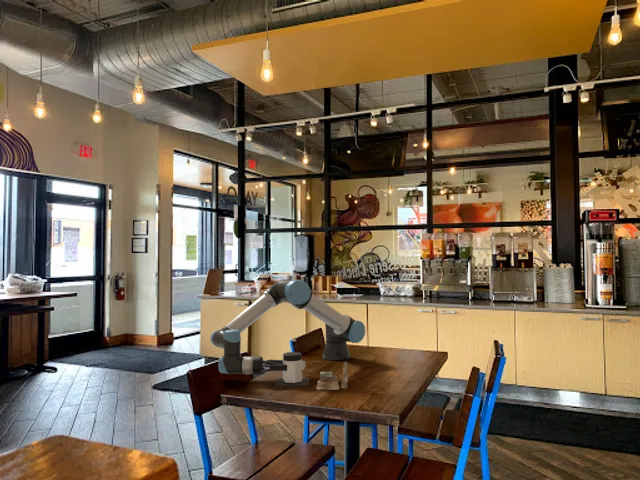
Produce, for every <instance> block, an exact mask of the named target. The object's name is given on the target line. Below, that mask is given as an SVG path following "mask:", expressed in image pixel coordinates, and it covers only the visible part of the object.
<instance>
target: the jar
mask: <svg viewBox="0 0 640 480" xmlns="http://www.w3.org/2000/svg"><path fill="white" fill-rule="evenodd" d="M282 354H283V355H282V358H283V359H282V360H283V364H284V365H287V371H282V378H283V381H284V382H285V383H297V382H301V381H302V378H303V370H301V363H302V361H303V359H302V353H301V352H298V351H289V352H284V353H282Z"/></svg>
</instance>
